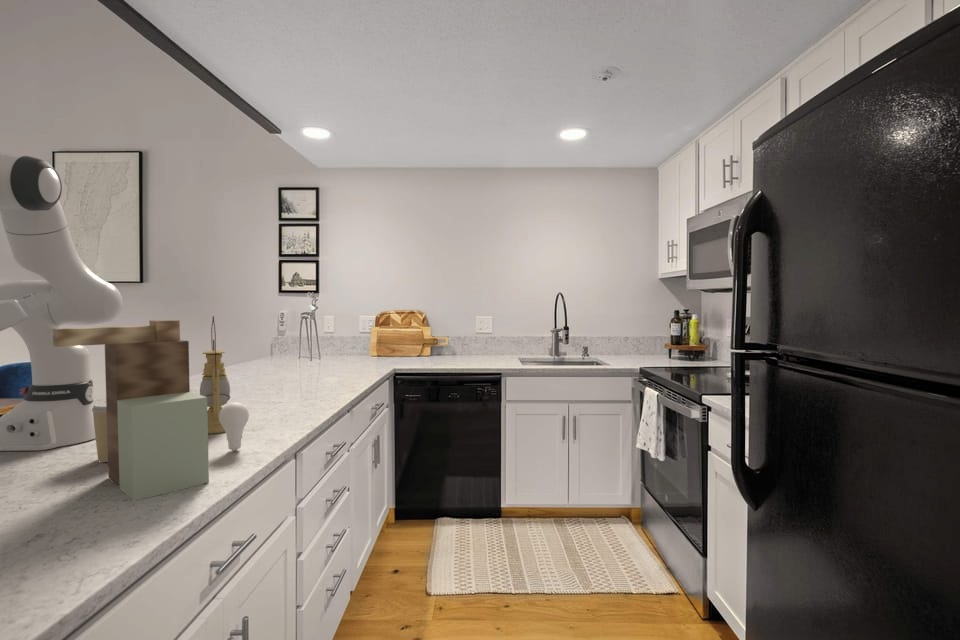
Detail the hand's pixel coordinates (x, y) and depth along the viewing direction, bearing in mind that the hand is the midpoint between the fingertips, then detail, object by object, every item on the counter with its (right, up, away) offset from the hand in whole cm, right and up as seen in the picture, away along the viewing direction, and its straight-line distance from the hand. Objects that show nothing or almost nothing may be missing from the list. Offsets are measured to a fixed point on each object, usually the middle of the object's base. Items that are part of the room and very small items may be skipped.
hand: (43, 296), depth 90 cm
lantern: (+5, -33, +47) cm, 58 cm away
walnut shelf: (+11, -34, +12) cm, 38 cm away
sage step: (+17, -34, +6) cm, 39 cm away
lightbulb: (+20, -34, +28) cm, 48 cm away
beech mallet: (+8, -8, +7) cm, 14 cm away
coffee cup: (-3, -34, +23) cm, 41 cm away
